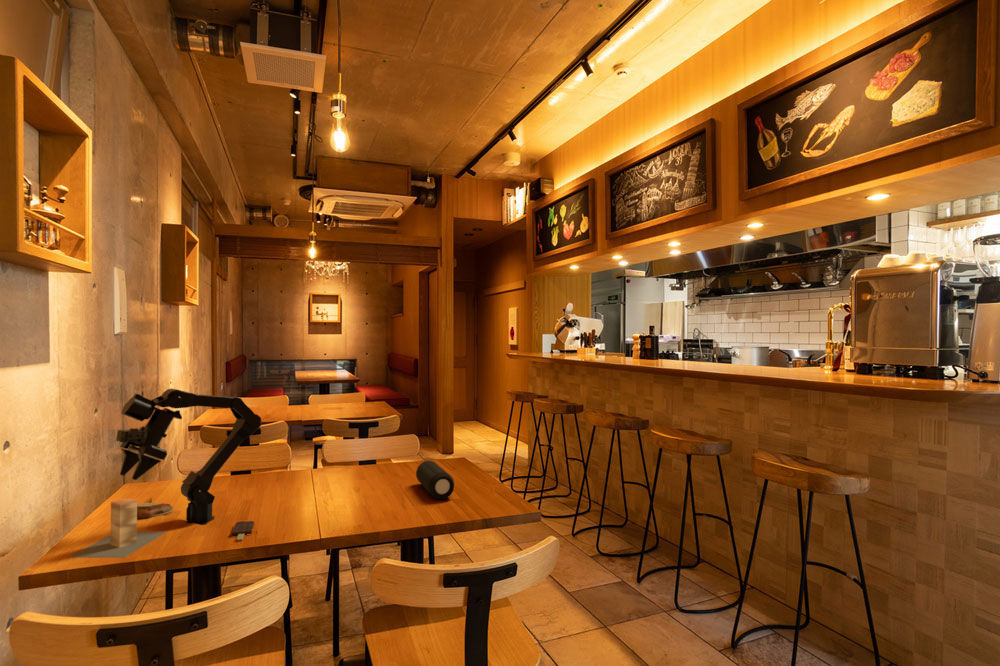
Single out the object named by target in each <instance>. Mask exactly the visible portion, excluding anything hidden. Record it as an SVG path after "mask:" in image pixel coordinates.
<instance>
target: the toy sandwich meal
mask: <svg viewBox="0 0 1000 666" xmlns="http://www.w3.org/2000/svg"><path fill="white" fill-rule="evenodd" d="M152 501H153V498H152V497H150V498H149V499H148V500H146V501H144V502H143V503H137V519H147V518H154V517H160V516H167V515H169V514H170V512H171V513H172V512H173V511H174V510H175V509H174V506H172V505H171V504H169V503H165V502H160V503H159V502H152ZM168 513H169V514H168ZM166 514H167V515H166Z"/></svg>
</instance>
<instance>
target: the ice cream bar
mask: <svg viewBox="0 0 1000 666" xmlns="http://www.w3.org/2000/svg"><path fill="white" fill-rule="evenodd" d="M253 525H255V521H254V520H249V521H247V520H240V521H237V522H235V524H234V527H233V528H232V532H231V537H232V536H236V541H238V542H240V540H241V541H243V540H244V538H245V536H244V535H247V534H251V535H252V533H253V530H252V529H254V526H253ZM247 536H248V535H247Z"/></svg>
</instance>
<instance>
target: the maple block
mask: <svg viewBox="0 0 1000 666" xmlns="http://www.w3.org/2000/svg"><path fill="white" fill-rule="evenodd" d="M137 504H138V500H137V499H134V498H129V497H127V498H123V499H118V500H115V501H111V502H110V545H113V546H116V547H119V548H120V547H123V546H126V545H129V544H133V543H136V541H137V532H138V526H137V525H138V523H137V522H138V518H137Z"/></svg>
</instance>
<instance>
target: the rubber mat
mask: <svg viewBox="0 0 1000 666" xmlns="http://www.w3.org/2000/svg"><path fill="white" fill-rule="evenodd" d="M166 533H167V531H137V541H136V543H133V544H129V545H126V546H123V547H120V548H119V547H116V546H113V545H110V535H111V534H110V535H108V536H106V537H104V538H102V539H100V540H98V541H96V542H94V543H93V544H92V543H91V544H90V545H89V546H87V547H84V548H83V549H81V550H79V551H77V552H75V553H73V554H72V555H69V556H68V557H67V558H71V559H72V558H74V559H75V558H76V559H77V558H82V559H83V558H87V559H88V558H92V559H93V558H94V559H98V558H101V559H102V558H105V559H106V558H111V559H112V558H119V559H120V558H123V559H124V558H126V557H128V556H130V555H132V554H134V553H135V552H137V551H138V550H140V549H142V548H143V547H144V546H147V545H148V544H149V543H151V542H153V541H155V540H156V539H158V538H159V537H162V536H163V535H165V534H166Z"/></svg>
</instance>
